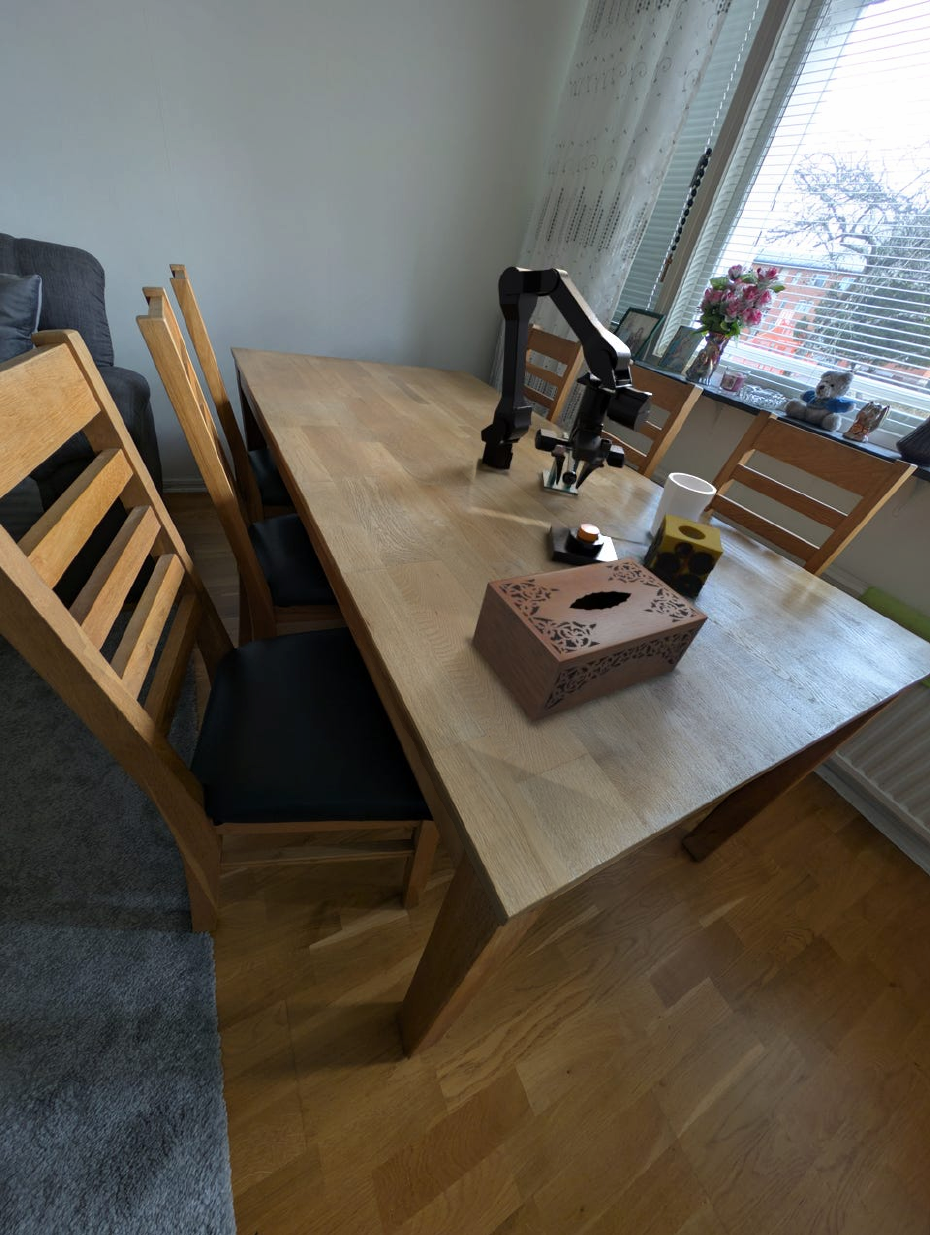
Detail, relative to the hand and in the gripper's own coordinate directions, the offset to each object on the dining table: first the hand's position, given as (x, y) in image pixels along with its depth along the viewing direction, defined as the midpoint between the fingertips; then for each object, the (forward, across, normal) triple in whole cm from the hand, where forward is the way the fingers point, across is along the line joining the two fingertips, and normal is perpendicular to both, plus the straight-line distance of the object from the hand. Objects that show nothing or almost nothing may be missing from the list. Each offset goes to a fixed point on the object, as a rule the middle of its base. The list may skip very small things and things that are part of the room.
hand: (566, 486), depth 106 cm
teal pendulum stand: (+4, 0, +9) cm, 10 cm away
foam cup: (+4, +22, -8) cm, 24 cm away
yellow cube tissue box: (+4, +19, -24) cm, 31 cm away
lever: (-3, 0, +5) cm, 6 cm away
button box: (+4, +2, -22) cm, 22 cm away
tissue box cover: (+4, -2, -52) cm, 52 cm away
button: (0, +2, -22) cm, 22 cm away
